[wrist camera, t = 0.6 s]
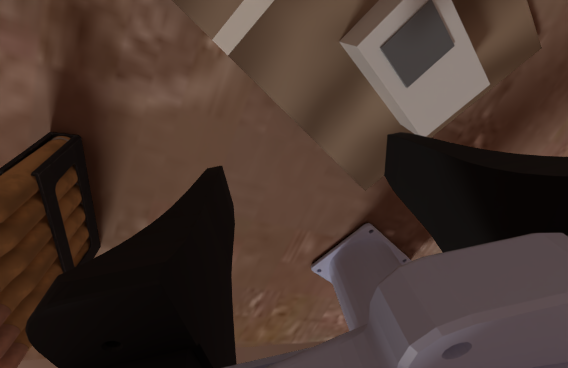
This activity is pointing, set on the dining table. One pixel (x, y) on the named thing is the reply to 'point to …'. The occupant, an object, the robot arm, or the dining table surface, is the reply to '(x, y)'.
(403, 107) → the block
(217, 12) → the subfloor panel
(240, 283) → the dining table surface
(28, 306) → the ammunition clip
